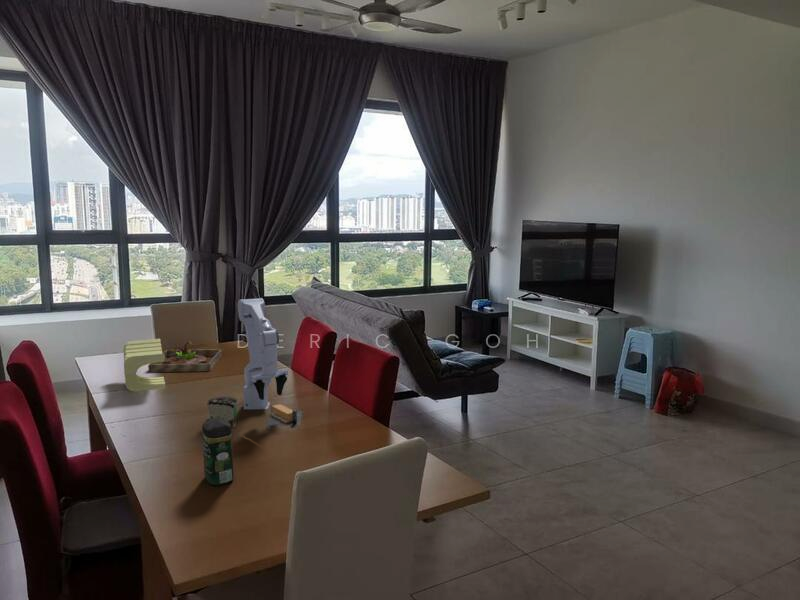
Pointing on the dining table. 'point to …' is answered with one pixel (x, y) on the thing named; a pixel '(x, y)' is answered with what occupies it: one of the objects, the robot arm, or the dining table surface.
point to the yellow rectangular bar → (282, 411)
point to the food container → (224, 409)
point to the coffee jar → (217, 451)
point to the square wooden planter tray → (187, 367)
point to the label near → (285, 419)
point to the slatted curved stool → (138, 356)
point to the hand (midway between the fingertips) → (270, 396)
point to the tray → (277, 422)
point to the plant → (186, 357)
